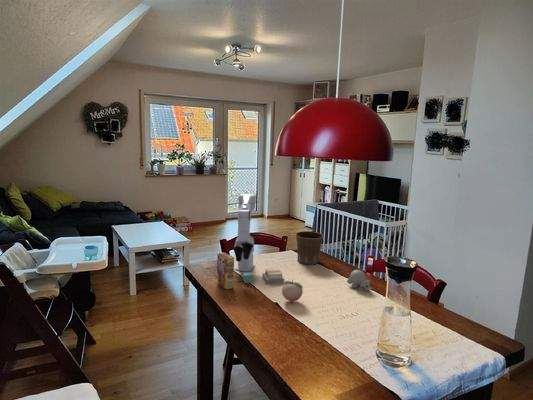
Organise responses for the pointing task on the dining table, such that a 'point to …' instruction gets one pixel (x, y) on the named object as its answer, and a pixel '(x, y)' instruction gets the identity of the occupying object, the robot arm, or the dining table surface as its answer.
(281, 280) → the base slab
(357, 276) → the chubby cartoon animal
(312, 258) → the plant pot
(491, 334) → the dining table surface
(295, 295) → the decorative fruit
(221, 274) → the candy box
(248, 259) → the robot arm
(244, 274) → the teal cube
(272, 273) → the top slab
